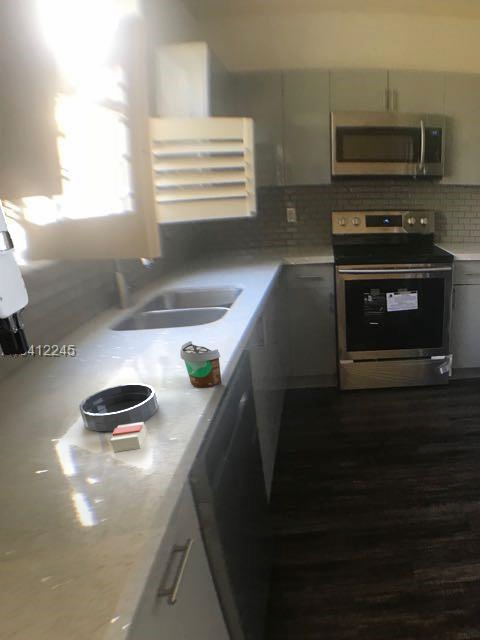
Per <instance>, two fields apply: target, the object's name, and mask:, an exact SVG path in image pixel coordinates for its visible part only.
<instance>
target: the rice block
mask: <svg viewBox="0 0 480 640" xmlns="http://www.w3.org/2000/svg"><path fill="white" fill-rule="evenodd" d="M111 435H112V436H111V439H110V440H109V441H110V444H111V448H112V450H113V453H119V452H124V451H130V450H136V449H141V448H142V446H143V444H144V441H145V438H146V435H147V429H146V425H145V421H143V422H139V423H132V424H125V425H118V427H117V428H115V429H114V431H112V433H111Z"/></svg>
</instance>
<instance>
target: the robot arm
mask: <svg viewBox="0 0 480 640" xmlns="http://www.w3.org/2000/svg"><path fill="white" fill-rule="evenodd" d="M15 252H16V250H15V245H14V242H13V238H12V235H11V231H10V228H9V224H8V221H7V218H6V215H5V210H4V208H3V204H2V201H1V200H0V348H1V351H2V354H3V356H15V355H17V356H18V355H24V354H26V353H27V352H28V351H29V350H30V346H29V343H28V340H27V337H26V333H25V330H24V321H23V318H22V316H23V315H22V314H23V313H24V311H25V307H26V306H27V305H28V304H29V296H28V295H29V294H28V291H27V288H26V284H25V281H24V278H23V275H22V272H21V270H20V267H19V264H18V262H17V259H16V256H15V255H14V253H15Z"/></svg>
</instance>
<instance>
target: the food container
mask: <svg viewBox="0 0 480 640" xmlns="http://www.w3.org/2000/svg"><path fill="white" fill-rule="evenodd" d="M179 352H180V353H179V356H180V359H181V360H183V361H184V365H185V368H186V371H187V374H188V377H189V381H190V385H191V386H192V387H194V388H199V389H205V388H206V389H207V388H213V387H217V386H220V385H222V384H223V383H222V374H221V366H220V365H221V364H220V363H221V362H220V358H221V354H220V352H219V349H218V348H217V349H214V350H212V349H210V348H207V347H205V346H199V345H196V344H193V341H192V340H190V341H187V342H185V343H184V344H183V345H182V346H181V347H180V351H179Z"/></svg>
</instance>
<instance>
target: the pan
mask: <svg viewBox="0 0 480 640" xmlns="http://www.w3.org/2000/svg"><path fill="white" fill-rule="evenodd" d="M158 408H159V402H158V399H157V395H156V391H155V389H154V387H153V386H151V385H149V384H145V383H126V384H119V385H116V386H111V387H108V388H104V389H102V390H99V391H97V392H95V393H93V394H91V395H88V396H87V397H86V398H85V399H83V400H82V401H81V402H80V404H79V412H80V415H81V419H82V422H83V425H84V426H85V427H86V428H87V429H88V430H91V431H95V432H113V431H114V429H115V428H117V427H118V425H125V424H132V423H139V422H145V421H147V420H148V419H150V418H151V417H152V416H153V415H154V414H155V413H157V412H158Z"/></svg>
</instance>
